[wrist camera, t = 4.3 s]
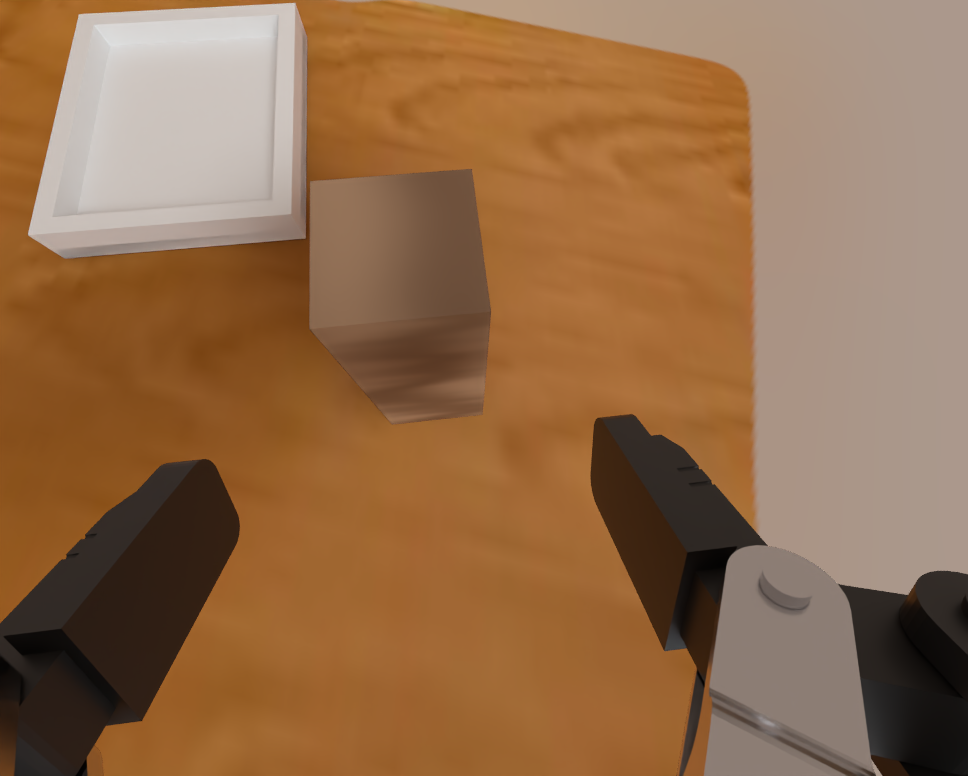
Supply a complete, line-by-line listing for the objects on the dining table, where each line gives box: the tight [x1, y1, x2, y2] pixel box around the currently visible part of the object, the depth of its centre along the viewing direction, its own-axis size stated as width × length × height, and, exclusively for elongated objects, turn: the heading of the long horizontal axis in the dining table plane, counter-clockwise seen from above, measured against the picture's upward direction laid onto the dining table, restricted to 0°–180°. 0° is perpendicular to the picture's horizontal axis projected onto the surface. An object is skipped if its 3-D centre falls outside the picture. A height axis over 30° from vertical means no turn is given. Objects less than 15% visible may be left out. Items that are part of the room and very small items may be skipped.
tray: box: [28, 3, 307, 258], centre depth 25 cm, size 13×16×2 cm
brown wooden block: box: [309, 169, 491, 424], centre depth 16 cm, size 4×4×11 cm
